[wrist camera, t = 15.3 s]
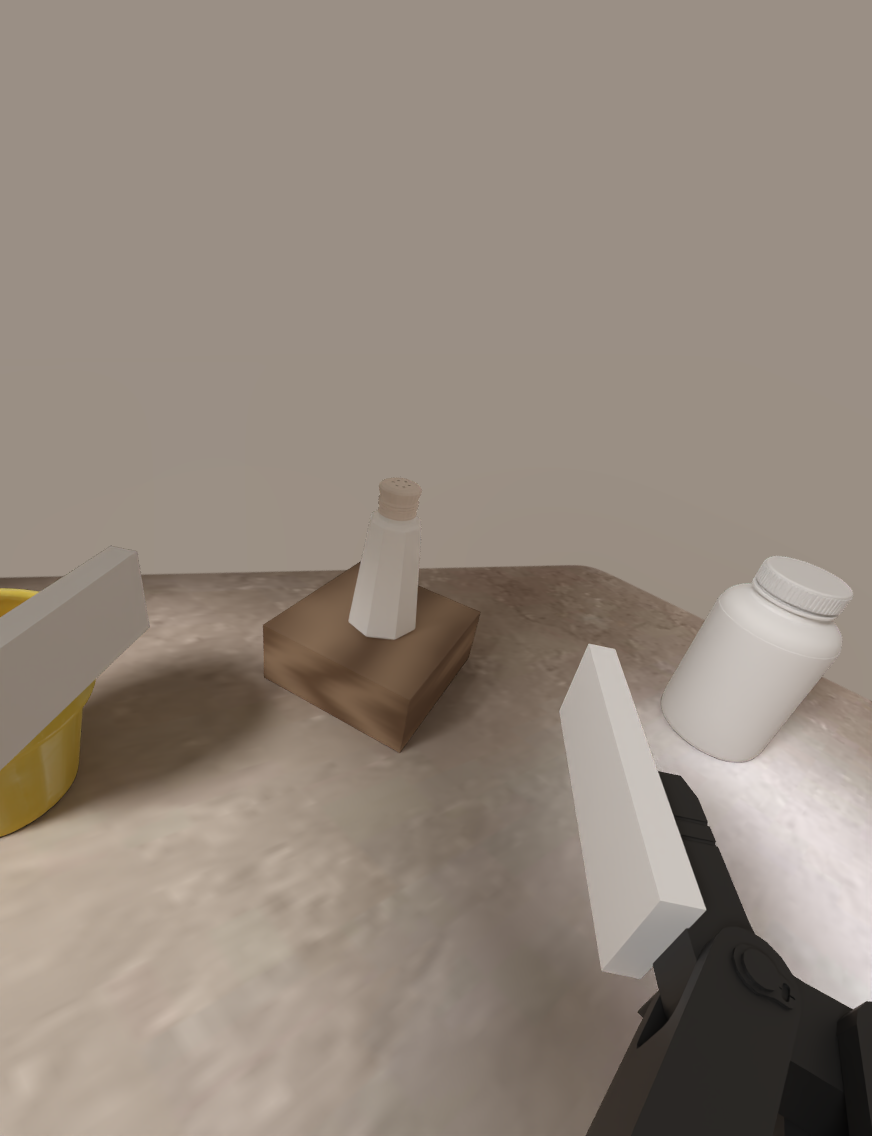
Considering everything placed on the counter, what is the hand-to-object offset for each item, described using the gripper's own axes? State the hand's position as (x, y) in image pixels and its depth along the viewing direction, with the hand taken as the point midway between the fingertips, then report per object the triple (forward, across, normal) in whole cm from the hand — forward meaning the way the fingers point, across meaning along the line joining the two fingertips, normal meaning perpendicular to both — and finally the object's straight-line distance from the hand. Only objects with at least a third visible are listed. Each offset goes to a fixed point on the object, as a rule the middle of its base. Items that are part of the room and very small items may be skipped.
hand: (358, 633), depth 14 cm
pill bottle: (+19, +27, -18) cm, 38 cm away
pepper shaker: (+18, -1, -13) cm, 23 cm away
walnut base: (+18, -2, -18) cm, 26 cm away
